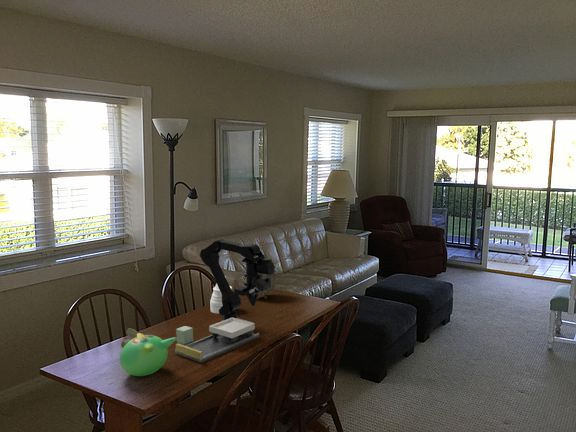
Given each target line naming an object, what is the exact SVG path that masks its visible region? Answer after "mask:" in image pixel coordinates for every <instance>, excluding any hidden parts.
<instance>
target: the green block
mask: <svg viewBox="0 0 576 432" xmlns="http://www.w3.org/2000/svg"><path fill="white" fill-rule="evenodd" d="M193 330H194V329H193V327H191V326H186V325H183V326H181V327H178V328H175V333H176V334H175V335H176V336H175V337H176V343H177V344H181V345H184V346H185V345H188V344H190V343H193V342H194V331H193Z"/></svg>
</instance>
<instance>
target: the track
mask: <svg viewBox="0 0 576 432" xmlns="http://www.w3.org/2000/svg"><path fill="white" fill-rule="evenodd" d="M237 337H238V341H237V342H236V343H232V341H231V339H232V338H229V337H226V336H223V335H219V334H218V336H217V337H213V336H212V334H210V335H208V336H205V337H203V338H201V339H198V340H196V341H193V342H190V343H188V344H185V345H183V344H180V343H176V344H175V349H174V354H175V355H178V356H180V357H184V358H186V359H189V360H191V361H195V362H197V363H198V364H199V363H200V364H202V363H206V362H208V361H209V360H212V359H214V358H216V357H218V356H221V355H224V354H225V353H227V352H228V353H229V352H231V351H232V350H234V349H237V348H239V347H241V346H243V345H245V344H248V343H249V342H250V343H251V342H252V341H255V340H257V339H259V338H261V335H260V332H257V333H254V332H253V333H252V336H250V337H248V336H246V333H244V334H241V335H239V336H237Z"/></svg>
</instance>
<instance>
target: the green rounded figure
mask: <svg viewBox="0 0 576 432" xmlns="http://www.w3.org/2000/svg"><path fill="white" fill-rule="evenodd" d="M129 340H130V341H129V342H128V343H127V344H126V345H125V346H124V348H123V347H122V350H121V352H120V354H119V362H120V366H121V367H122V369H123V371H125V372H126V373H127V374H129V375H130V376H134V377H145V376H150V375H151V374H154V373H156V372H157V371H159V369H161V368H162V367H163V365H164V364H165V363H166V361H167V358H168V354H169V353H168V352H169V349H168V348H169V347H170V346H171V345H172V344H174V343H175V342H177V337H176V336H175V337H170V338H167V339H162V338H161V337H159V336H156V335H153V334H143V333H141V332H138V334H137V337H136V338H133V339H129Z"/></svg>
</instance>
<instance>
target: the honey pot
mask: <svg viewBox="0 0 576 432" xmlns="http://www.w3.org/2000/svg"><path fill="white" fill-rule="evenodd" d="M225 277H226V278H227V276H225ZM229 286H230V288H231V290H232V291H233V287H232V286H231V285H229ZM212 290H213V291H212V293H211V298H210V300H209V301H210V302H209V303H210V307H209V308H210V312H211V313H213V314H216V315H217V314H218V315H220V314H219V309H220V308H221V307H222V306H223V304H222V294H221V292H220V290H219V287H218V285H217V283H216V284H215V286H214V287H213V288H212Z"/></svg>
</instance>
